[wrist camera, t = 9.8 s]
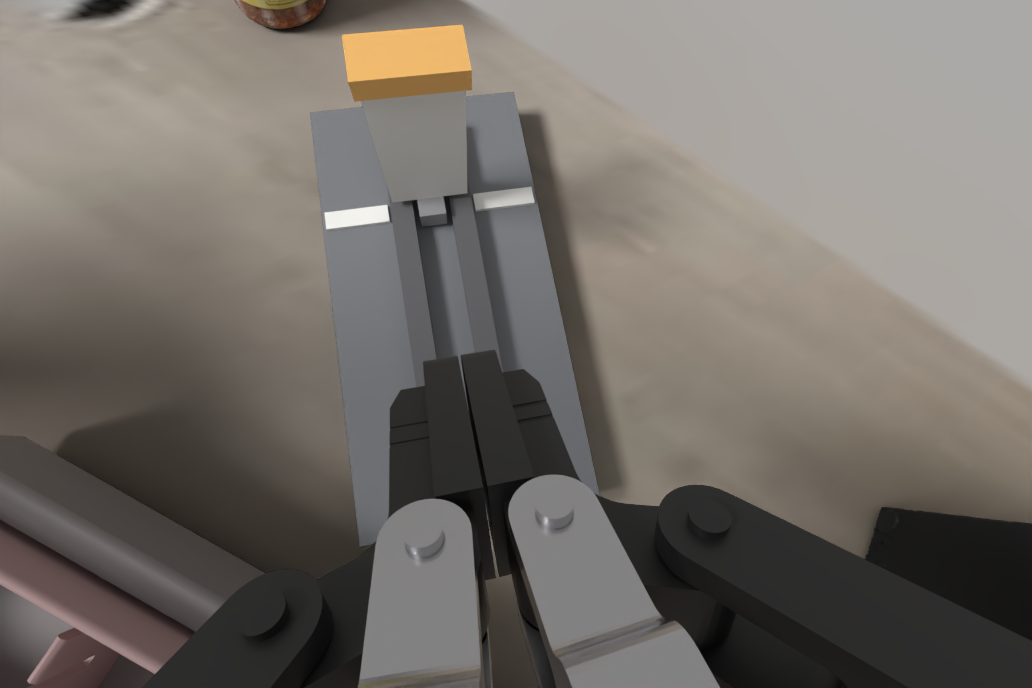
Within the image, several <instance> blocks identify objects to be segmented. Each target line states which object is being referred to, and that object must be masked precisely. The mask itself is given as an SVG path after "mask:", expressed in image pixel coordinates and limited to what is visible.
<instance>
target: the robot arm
mask: <svg viewBox="0 0 1032 688" xmlns="http://www.w3.org/2000/svg"><path fill="white" fill-rule="evenodd" d="M461 363H462V370H463V377H464V384H465V391H466V396H465V391H464V386H463V381H462V375H461V370H460V365H459V360H458V356H452V357H446V358H440V359H434V360H428V361H423V371H424V382H425V386H420V387H414V388H408V389H402V390H400V392H399V393H398V395H397V397H396V398H395V400H394V402H393V404H392V405H391V407H390V440H389V444H390V448H389V514H388V519H387V521H386V522H385V523H384V525H383V527H382V528H381V530H380V532H379V534H378V537H377V541H376V542H375V543H374V544H373V545H372V546H371V547H370V548H369V549H368V550H367V551H366V552H365V553H364V554H362V555H361V556H360V557H358V558H357V559H355V560H354V561H352V562H350V563H348V564H347V565H345V566H343V567H341V568H339V569H337V570H335V571H333V572H331V573H329V574H327V575H325V576H323V577H321V578H319V579H318V580H316V581H315V580H314V578H313V577H311V576H310V575H309V574H307V573H305V572H302V571H300V570H294V569H282V570H276V571H272V572H269V573H266V574H263V575H261V576H259V577H257V578H255V579H253V580H251V581H250V582H248V583H246V584H245V585H244V586H242V587H241V588H240V589H238V590H237V591H236V592H235V593H234V594H233V595H232V596H231V597H229V598H228V600H227V601H226V602H225V603H224V604H223V605H222V606H221V607H220V608H219V609H218V610H217V611H216V612H215V613H214V614H213V615H212V616H211V617H210V618H209V619H208V620H207V621H206V622H205V623H204V624H203V625H202V626H201V627H200V628H199V629H198V630H197V631H196V632H195V633H194V634H193V635H192V636H191V637H190V639H189V640H188V641H187V642H186V643H185V644H184V645H183V646H182V647H181V648H180V649H179V650H178V651H177V652H176V653H175V654H174V655H173V656H172V657H171V658H170V659H169V660H168V661H167V662H166V663H165V664H164V665H163V666H162V667H161V668H160V669H159V670H158V671H157V672H156V673H155V674H154V675H153V676H152V677H151V679H150V680H149V681H148V682H147V683H146V684H145V685H144V686H143V687H142V688H493V677H492V665H491V652H490V640H489V629H488V625H489V619H490V610H489V603H488V597H487V590H486V584H485V580H489V579H493V578H496V577H495V570H494V563H493V556H492V549H491V541H490V534H489V527H488V520H489V525H490V531H491V536H492V541H493V546H494V552H495V557H496V562H497V567H498V573H499V577H501V576H505V575H510V574H512V579H513V583H514V588H515V593H516V597H517V605H518V615H519V620H520V624H521V628H522V631H523V635H524V638H525V642H526V645H527V648H528V652H529V655H530V659H531V662H532V666H533V669H534V673H535V676H536V679H537V683H538V686H539V688H1032V641H1031V640H1029V639H1027V638H1025V637H1023V636H1021V635H1019V634H1017V633H1014V632H1012V631H1010V630H1008V629H1006V628H1004V627H1002V626H1000V625H998V624H996V623H994V622H992V621H990V620H988V619H986V618H984V617H982V616H980V615H978V614H975V613H973V612H971V611H969V610H967V609H965V608H963V607H961V606H959V605H957V604H955V603H953V602H951V601H949V600H947V599H945V598H943V597H941V596H939V595H937V594H934V593H932V592H930V591H928V590H926V589H924V588H922V587H920V586H918V585H916V584H914V583H912V582H910V581H908V580H906V579H904V578H902V577H900V576H898V575H895V574H893V573H891V572H889V571H887V570H885V569H883V568H881V567H879V566H877V565H875V564H873V563H871V562H869V561H867V560H865V559H863V558H861V557H859V556H857V555H854V554H852V553H850V552H848V551H846V550H844V549H842V548H840V547H838V546H836V545H834V544H832V543H830V542H828V541H826V540H824V539H822V538H820V537H818V536H815V535H813V534H811V533H809V532H807V531H805V530H803V529H801V528H799V527H797V526H795V525H793V524H791V523H789V522H787V521H785V520H783V519H781V518H779V517H777V516H774V515H772V514H770V513H768V512H766V511H764V510H762V509H760V508H758V507H756V506H754V505H752V504H750V503H748V502H746V501H744V500H742V499H740V498H738V497H735V496H733V495H731V494H729V493H727V492H725V491H723V490H720V489H717V488H714V487H710V486H704V485H688V486H683V487H679V488H677V489H675V490H673V491H671V492H670V493H669V494H667V495H666V496H665V498H664V499H663V500H662V502H661V504H660V506H646V505H634V504H624V503H618V502H614V501H610V500H608V499H605V498H603V497H601V496H599V495H597V494H595V493H594V492H593V491H592V490H591V489H590V488H589V487H588V486H586V485H585V484H584V483H582V481H581V480H580V479H579V477H578V475H577V473H576V471H575V469H574V466H573V464H572V461H571V459H570V456H569V454H568V451H567V449H566V446H565V444H564V441H563V439H562V436H561V434H560V431H559V429H558V427H557V424H556V422H555V419H554V418H553V415H552V412H551V409H550V407H549V404H548V403H547V399H546V397H545V394H544V392H543V389H542V387H541V385H540V382H539V381H538V380H536V379H535V378H534V377H533V376H532V375H530V374H529V373H528V372H527V371H526V370H524V369H520V370H514V371H508V372H502V370H501V367H500V363H499V360H498V357H497V354H496V351H495V350H489V351H482V352H476V353H470V354H464V355H461ZM466 398H467V401H466ZM467 405H468V407H467ZM485 504H486V505H485ZM486 510H487V512H486ZM487 515H488V520H487Z"/></svg>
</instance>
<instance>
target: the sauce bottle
mask: <svg viewBox="0 0 1032 688" xmlns="http://www.w3.org/2000/svg"><path fill="white" fill-rule="evenodd" d="M235 2H236V3H237V5H238V6H239V8H240V9H241V10H242V11H243V12H244V13H245V15H246V16H247V17H249V19H251V20H253V21H255V22H256V23H258V24H261V25H263V26H266V27H269V28H274V29H277V28H279V29H282V28H283V29H284V28H292V27H295V26H299V25H303V24H305V23H307V22H309V21H310V20H313V19H315V16H317V15H319V14H320V13H321V11H322V9H323V7H324V5H325V3H326V0H235Z"/></svg>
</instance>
